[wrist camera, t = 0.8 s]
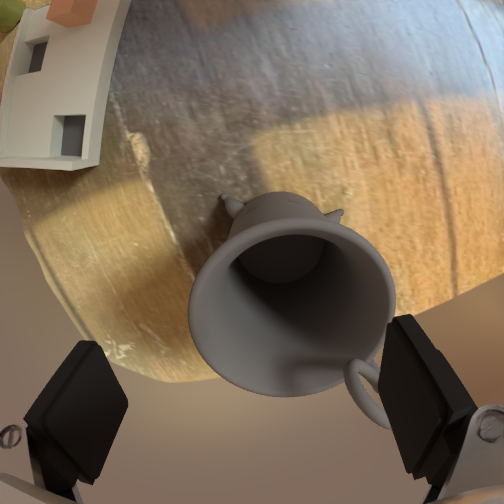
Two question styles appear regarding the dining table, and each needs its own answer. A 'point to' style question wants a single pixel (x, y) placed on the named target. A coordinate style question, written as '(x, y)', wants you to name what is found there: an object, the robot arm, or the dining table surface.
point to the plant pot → (10, 14)
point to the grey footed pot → (293, 302)
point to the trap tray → (59, 89)
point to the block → (71, 12)
